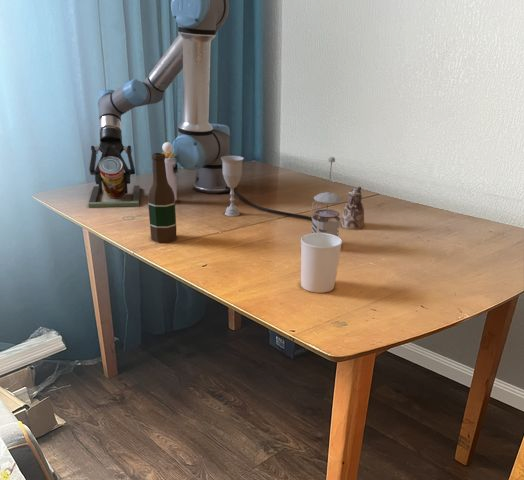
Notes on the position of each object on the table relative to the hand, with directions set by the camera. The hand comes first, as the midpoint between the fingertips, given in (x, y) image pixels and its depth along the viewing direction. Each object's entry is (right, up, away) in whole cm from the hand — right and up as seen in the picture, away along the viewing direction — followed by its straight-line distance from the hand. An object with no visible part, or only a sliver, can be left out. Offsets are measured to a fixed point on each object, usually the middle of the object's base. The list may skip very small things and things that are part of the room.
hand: (113, 191), depth 188 cm
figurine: (+80, -14, -11) cm, 82 cm away
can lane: (-1, 0, +7) cm, 7 cm away
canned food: (-1, +3, +8) cm, 8 cm away
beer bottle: (+22, -22, -26) cm, 40 cm away
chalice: (+41, -9, -5) cm, 42 cm away
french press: (+69, -23, -27) cm, 77 cm away
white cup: (+65, -38, -51) cm, 91 cm away
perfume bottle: (+19, -2, +5) cm, 19 cm away
